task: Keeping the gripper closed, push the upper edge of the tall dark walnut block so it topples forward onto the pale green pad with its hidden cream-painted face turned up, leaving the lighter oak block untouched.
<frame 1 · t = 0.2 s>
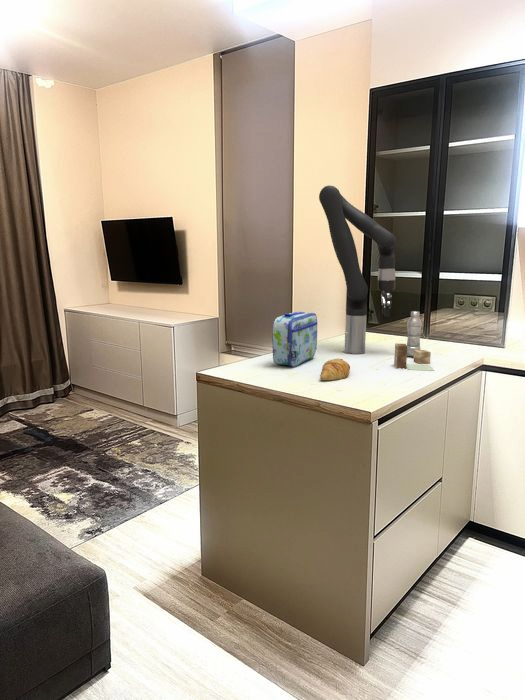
hand: (385, 315, 233), 17 cm above the counter, tool pointing down, fingers open, 8 cm apart
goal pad: (419, 367, 208), on the counter
croissant: (334, 377, 193), on the counter
oak block: (421, 362, 218), on the counter
lunch box: (295, 362, 217), on the counter
plastic bottle: (412, 357, 230), on the counter
walnut block: (399, 366, 209), on the counter
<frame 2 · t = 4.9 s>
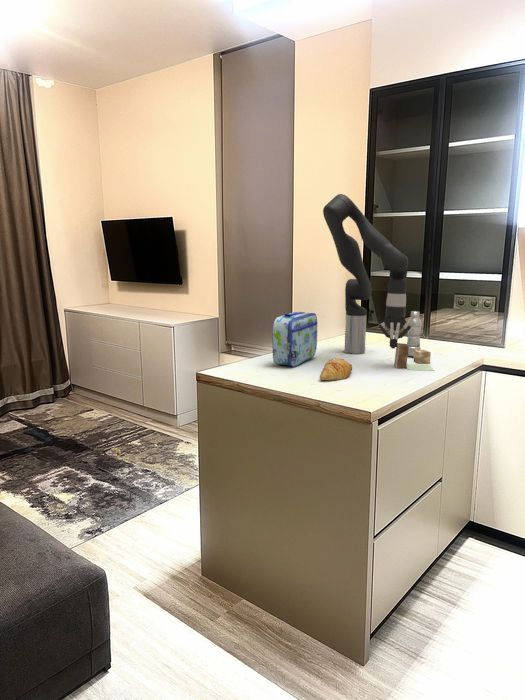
hand: (393, 348, 208), 8 cm above the counter, tool pointing down, fingers closed
walnut block: (399, 366, 209), on the counter, touching gripper
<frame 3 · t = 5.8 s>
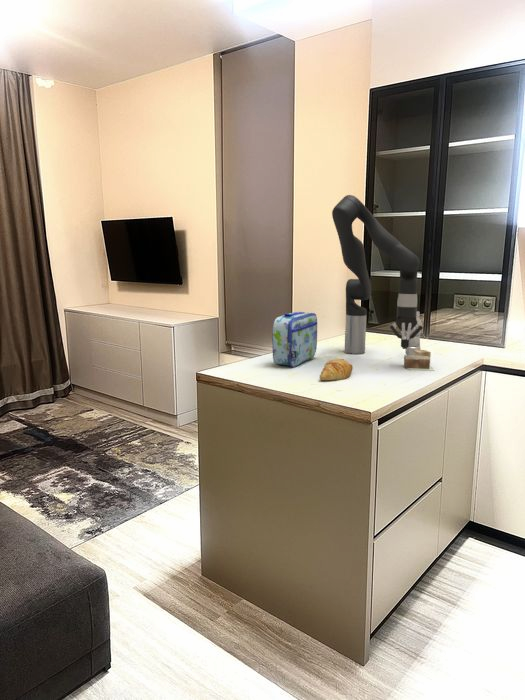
hand: (404, 348, 208), 8 cm above the counter, tool pointing down, fingers closed
walnut block: (405, 361, 209), point 2 cm above the counter, tilted 90°, touching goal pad
everything else where it was.
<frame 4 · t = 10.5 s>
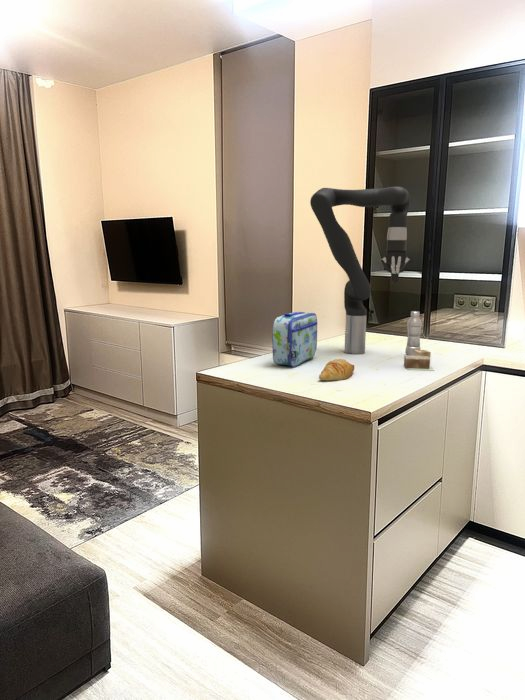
hand: (394, 282, 211), 33 cm above the counter, tool pointing down, fingers closed
at the end: walnut block tilted 90°; walnut block inside the target area (5.1 cm from its centre), point 2.2 cm above the counter; oak block moved 0.1 cm from its start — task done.
